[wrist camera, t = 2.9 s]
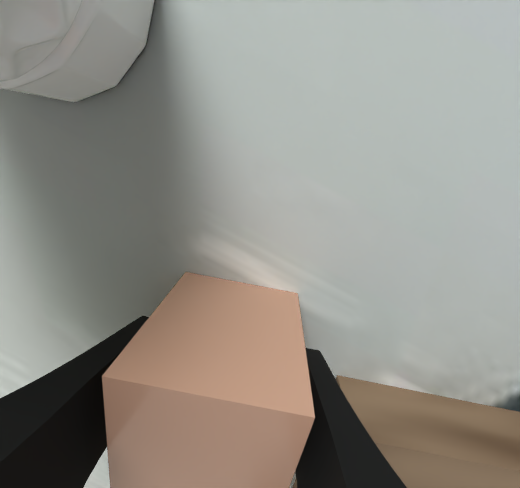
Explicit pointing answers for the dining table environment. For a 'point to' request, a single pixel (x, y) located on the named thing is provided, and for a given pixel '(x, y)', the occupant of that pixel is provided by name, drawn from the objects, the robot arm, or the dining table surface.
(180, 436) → the terracotta block
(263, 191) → the dining table surface
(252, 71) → the dining table surface
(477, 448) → the walnut box
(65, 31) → the white cup
